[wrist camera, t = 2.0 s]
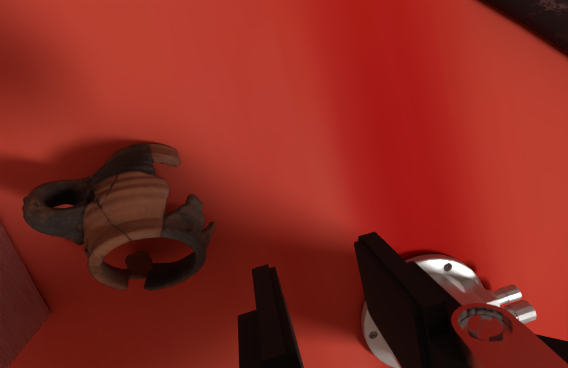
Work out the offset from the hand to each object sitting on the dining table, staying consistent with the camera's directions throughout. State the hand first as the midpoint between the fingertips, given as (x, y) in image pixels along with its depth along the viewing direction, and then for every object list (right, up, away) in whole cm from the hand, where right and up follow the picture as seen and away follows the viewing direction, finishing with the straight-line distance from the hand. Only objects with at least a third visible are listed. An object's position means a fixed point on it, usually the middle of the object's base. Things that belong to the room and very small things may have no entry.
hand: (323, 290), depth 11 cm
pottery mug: (-13, +2, +16) cm, 20 cm away
